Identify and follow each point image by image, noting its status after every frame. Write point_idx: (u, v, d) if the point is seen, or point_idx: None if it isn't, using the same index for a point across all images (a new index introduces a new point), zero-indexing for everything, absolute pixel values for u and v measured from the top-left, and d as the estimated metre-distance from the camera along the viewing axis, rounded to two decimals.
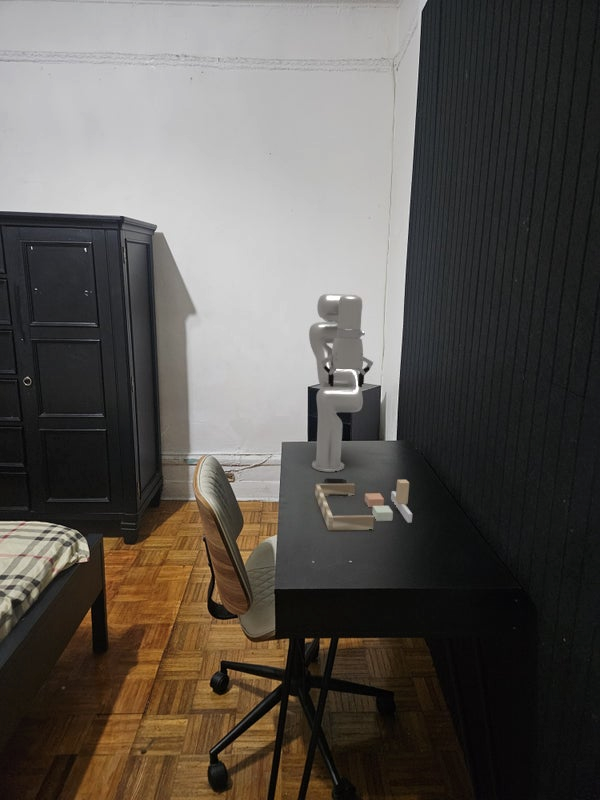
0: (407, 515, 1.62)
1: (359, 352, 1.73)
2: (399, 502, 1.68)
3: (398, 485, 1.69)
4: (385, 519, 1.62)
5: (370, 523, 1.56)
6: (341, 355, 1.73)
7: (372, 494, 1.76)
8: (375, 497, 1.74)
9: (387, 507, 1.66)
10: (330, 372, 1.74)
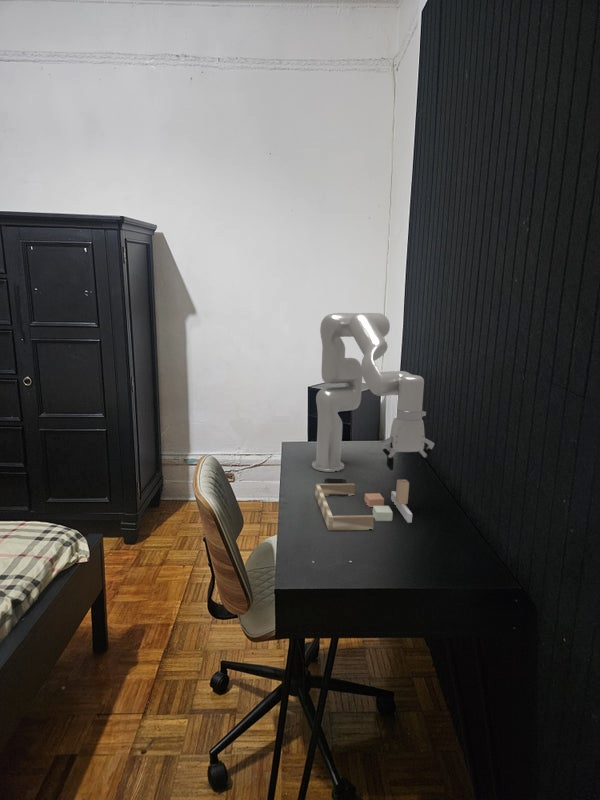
0: (407, 515, 1.62)
1: (421, 434, 1.63)
2: (399, 502, 1.68)
3: (398, 485, 1.69)
4: (385, 519, 1.62)
5: (370, 523, 1.56)
6: (402, 438, 1.63)
7: (372, 494, 1.76)
8: (375, 496, 1.74)
9: (387, 507, 1.66)
10: (390, 455, 1.64)
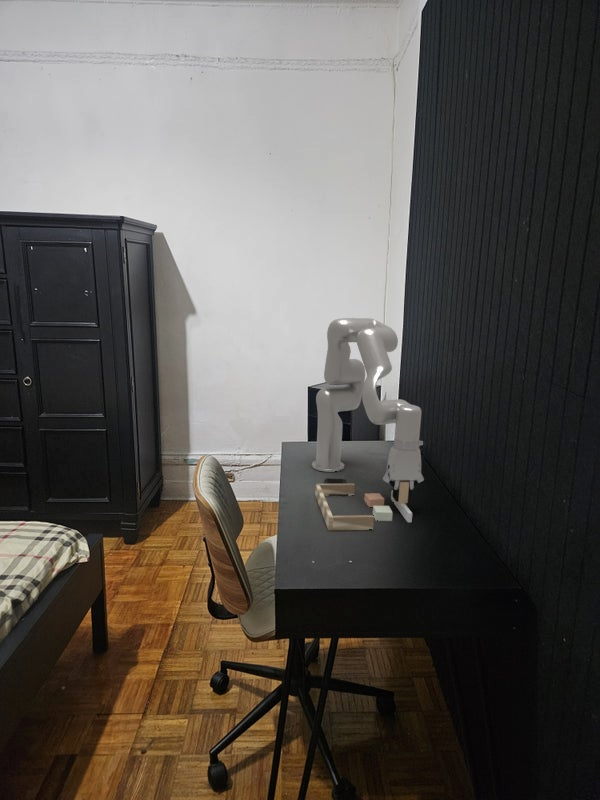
0: (407, 514, 1.62)
1: (418, 464, 1.66)
2: (399, 501, 1.68)
3: None
4: (385, 519, 1.62)
5: (370, 523, 1.56)
6: (399, 467, 1.65)
7: (372, 494, 1.76)
8: (375, 497, 1.74)
9: (387, 507, 1.66)
10: (395, 487, 1.68)
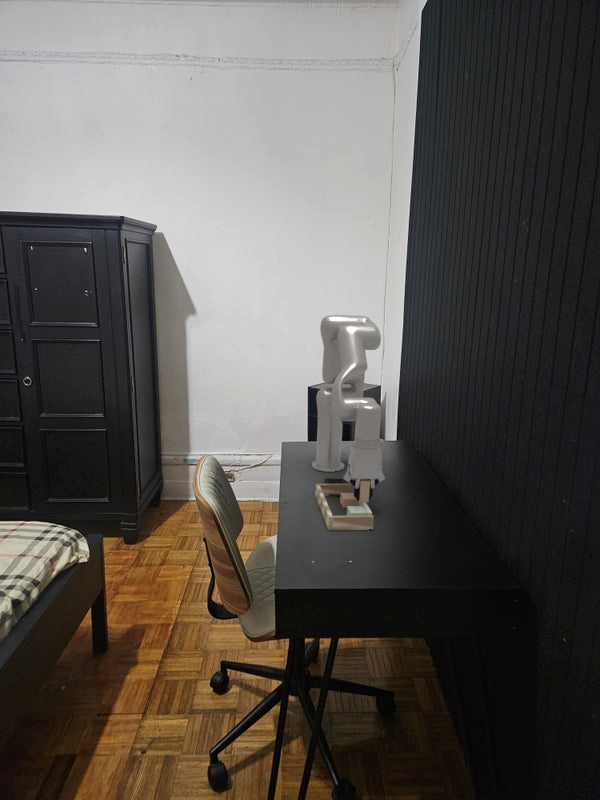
0: (367, 514, 1.61)
1: (378, 462, 1.64)
2: (360, 500, 1.67)
3: (359, 483, 1.67)
4: None
5: (370, 523, 1.56)
6: (359, 465, 1.63)
7: (347, 493, 1.75)
8: (350, 496, 1.73)
9: (361, 507, 1.64)
10: (356, 486, 1.66)
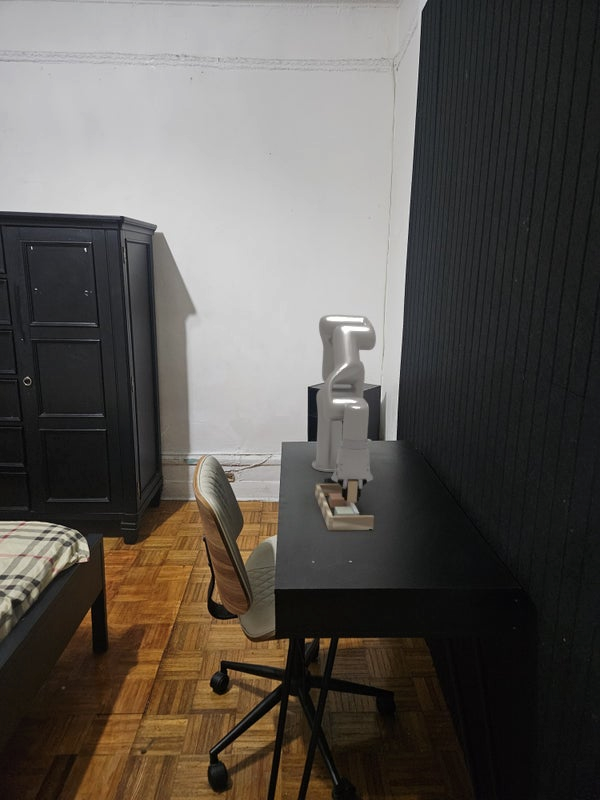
0: (354, 514, 1.60)
1: (366, 462, 1.63)
2: (348, 501, 1.66)
3: (347, 483, 1.66)
4: None
5: (370, 523, 1.56)
6: (346, 466, 1.63)
7: (336, 494, 1.75)
8: (338, 497, 1.72)
9: (349, 508, 1.64)
10: (344, 486, 1.65)
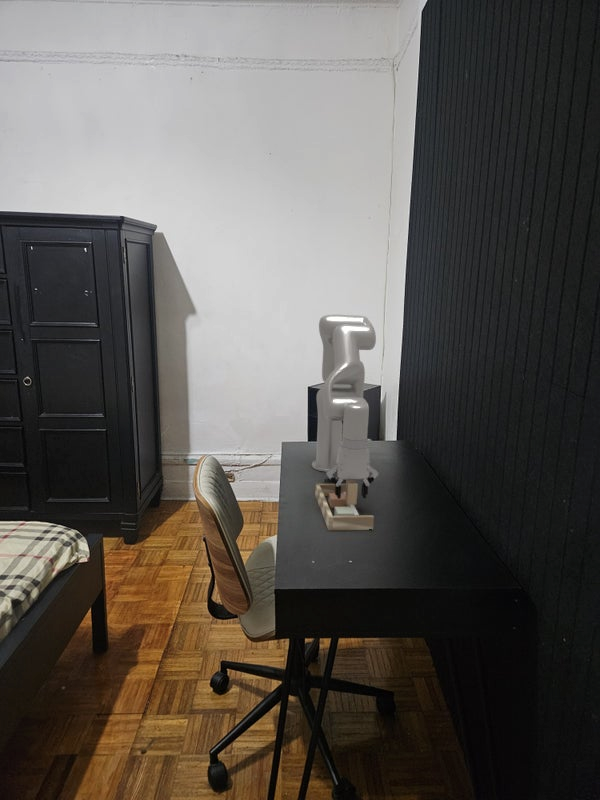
0: None
1: (366, 462, 1.63)
2: (348, 503, 1.67)
3: (347, 485, 1.67)
4: None
5: (370, 523, 1.56)
6: (346, 465, 1.63)
7: None
8: None
9: (349, 508, 1.64)
10: (337, 484, 1.65)
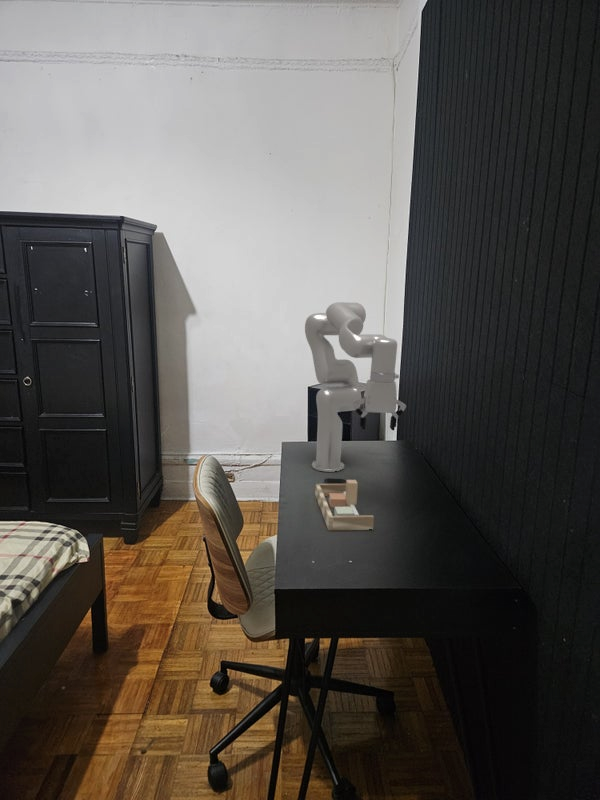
0: None
1: (393, 396, 1.69)
2: (348, 502, 1.67)
3: (347, 485, 1.67)
4: None
5: (370, 523, 1.56)
6: (374, 398, 1.69)
7: (336, 494, 1.75)
8: (338, 497, 1.72)
9: (349, 508, 1.64)
10: (362, 415, 1.71)
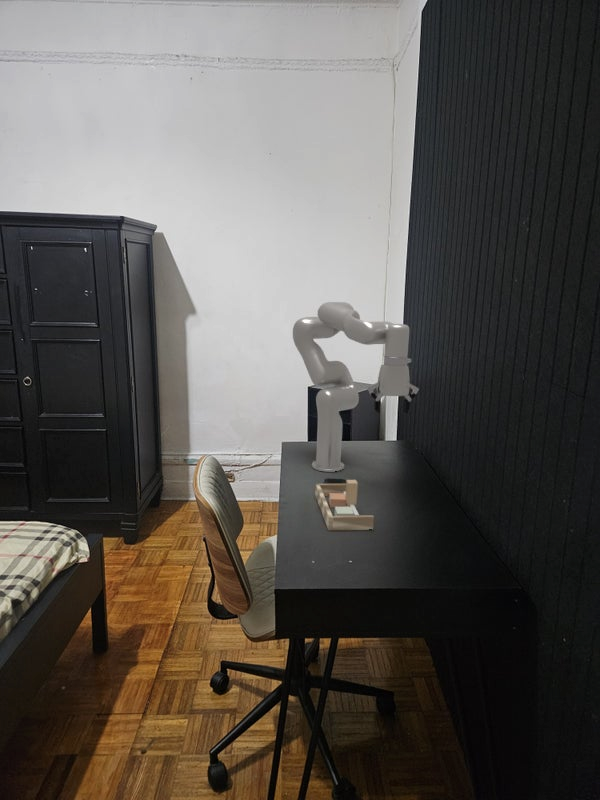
0: None
1: (406, 379, 1.76)
2: (348, 502, 1.67)
3: (347, 485, 1.67)
4: None
5: (370, 523, 1.56)
6: (388, 382, 1.75)
7: (336, 494, 1.75)
8: (338, 497, 1.72)
9: (349, 508, 1.64)
10: (377, 399, 1.77)
